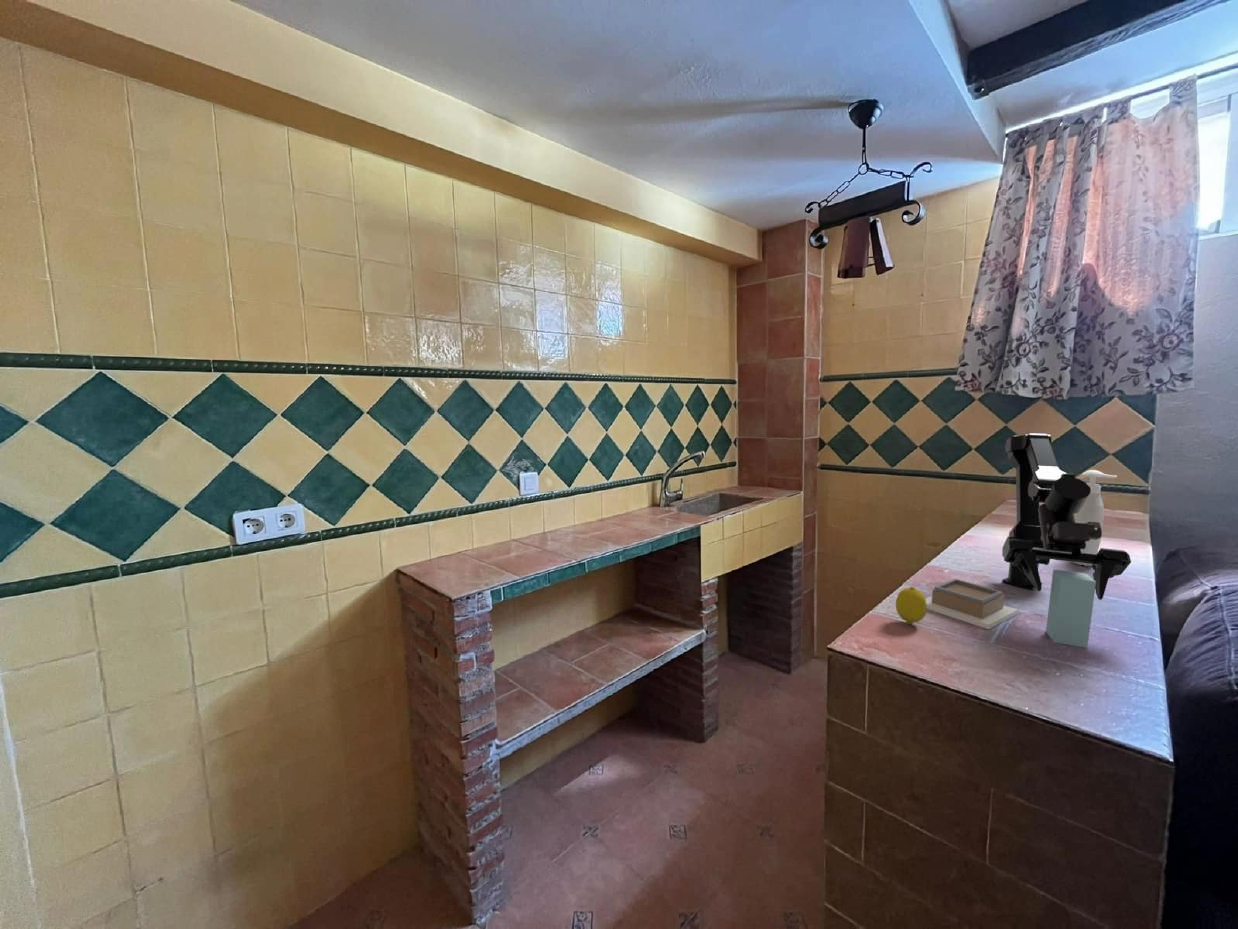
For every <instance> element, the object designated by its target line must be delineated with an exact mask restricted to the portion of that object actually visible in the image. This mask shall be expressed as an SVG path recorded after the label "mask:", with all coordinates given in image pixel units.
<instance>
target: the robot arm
mask: <svg viewBox="0 0 1238 929" xmlns="http://www.w3.org/2000/svg"><path fill="white" fill-rule="evenodd" d="M1004 449H1005V452H1006V453H1007V457H1008V458H1007V460H1008V462H1009V463H1010V464H1011V465H1012V467H1013V468H1014V469H1015V480H1016V481H1015V482H1016V483H1015V484H1016V485H1015V486H1016V489H1015V490H1016V491H1015V492H1016V493H1015V495H1016V496H1015V499H1016V523H1015V525H1013V527H1012V528H1011V530H1010V531H1009V533H1008V536H1007V537H1006V539H1005V541H1004V543H1003V546H1002V549H1001V550H1002V551H1001V553H1002V554H1001V556H1002V557H1003V560H1004V562H1006V563H1008V565H1009V567H1008V575H1007V576H1008V577H1005V578H1003V579H1002V580H1001V583H1005V584H1010V585H1013V586H1016V587H1021V588H1025V589H1028V590H1035V589H1036V591H1038V592H1041V591H1042V586H1043V583H1042V580H1041V577H1040V572H1039V566H1040V565H1046V566H1049V564H1050V561H1051V560H1054V561H1058V562H1059V561H1060V562H1061V561H1062V562H1069V563H1074V562H1076V563H1085V564H1092V565H1091V566H1092V569H1093V571H1094V572H1093V573H1092V579H1093V580H1094V581H1096V586H1095V595H1096V597H1097V600H1100V601H1102V600H1103V599H1104V595H1105V592H1106V590H1107V585H1108V582H1109V580H1110V579H1111V578H1112V579H1113V578H1114V577H1115V576H1116V577H1117V576H1121V575H1122V574H1123V573H1124V572H1125V571H1126V569H1127V568H1128V567H1129V566H1130V564H1131V563H1132V560H1131V556H1130V554H1129V553H1128V552H1127V551H1126V550H1122V549H1114V548H1105V547H1104V548H1103V547H1101V548H1100V549H1098V553H1097V554H1086V553H1081V549H1085V547H1086V543H1085V542H1086V541H1090V539H1094V540H1097V539H1099V538H1101V539H1102V537H1103V535H1102V534H1103V529H1101V526H1100V523H1099V522H1087V523H1085V524H1084V523H1075V518H1074V514H1075V513H1078V512H1079V511H1080V509H1081V508H1082V506H1083V504H1084V503H1085V501H1086V499H1087V498H1088V496H1089V494H1090V492H1091V489H1090V487H1089V486H1088V485H1087V484H1086V483H1087V482H1086V481H1083V480H1081V479H1080V478H1077V477H1076V474H1074V473H1067V472H1065V471H1063V470H1061V469H1060V467H1059V465H1058V462H1057V459H1056V456H1055V453H1054V450H1053V448H1052V436H1051V434H1048V433H1038V432H1037V433H1036V432H1035V433H1034V432H1033V433H1031V432H1030V433H1029V432H1028V433H1025V434H1022V435H1019V434H1017V435H1015V434H1013V435H1012V436H1011V437H1009V438H1007V439H1006V442H1005V448H1004ZM1040 503H1042V504H1040ZM1101 536H1102V537H1101ZM1076 563H1075V564H1076Z"/></svg>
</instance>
